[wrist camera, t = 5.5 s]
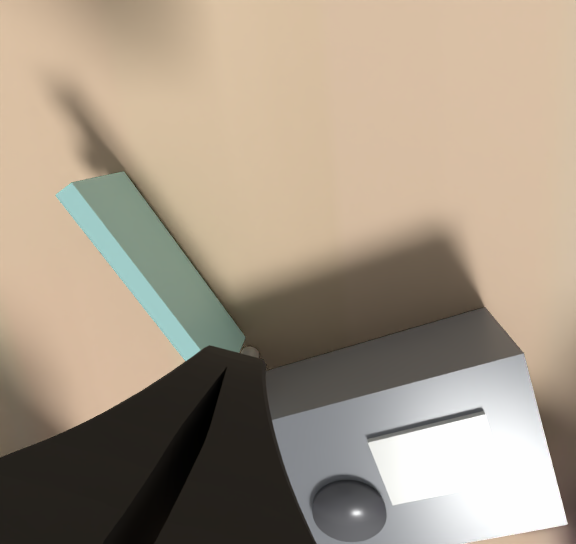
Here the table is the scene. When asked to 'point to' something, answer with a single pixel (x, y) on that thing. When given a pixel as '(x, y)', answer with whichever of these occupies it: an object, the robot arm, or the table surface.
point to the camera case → (417, 438)
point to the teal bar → (151, 264)
